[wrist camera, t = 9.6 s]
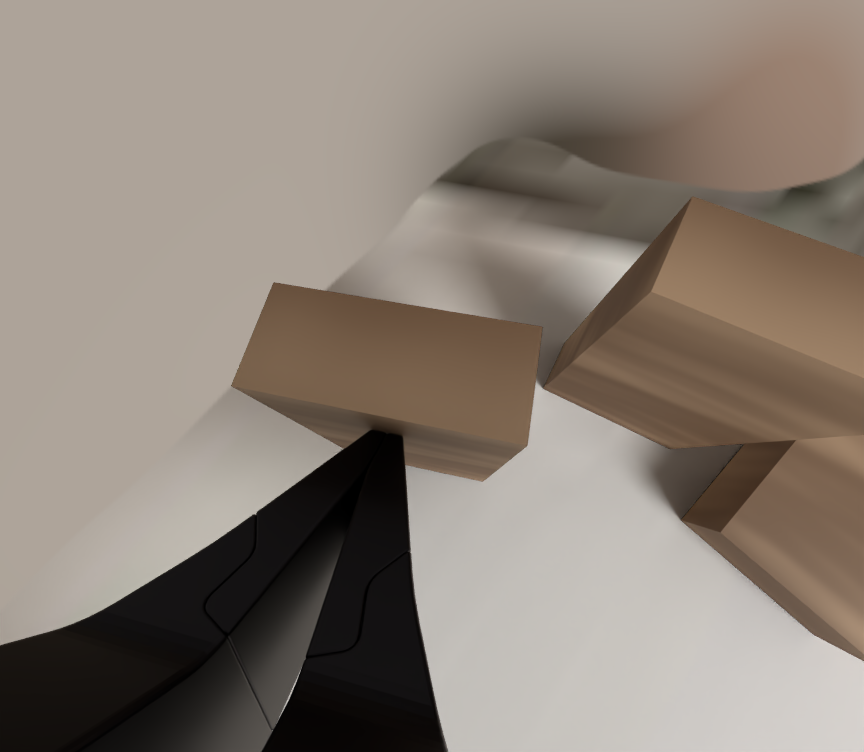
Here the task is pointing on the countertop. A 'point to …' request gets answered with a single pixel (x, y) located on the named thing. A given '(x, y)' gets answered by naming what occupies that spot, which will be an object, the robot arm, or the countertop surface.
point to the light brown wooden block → (724, 337)
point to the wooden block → (795, 529)
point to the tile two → (396, 376)
